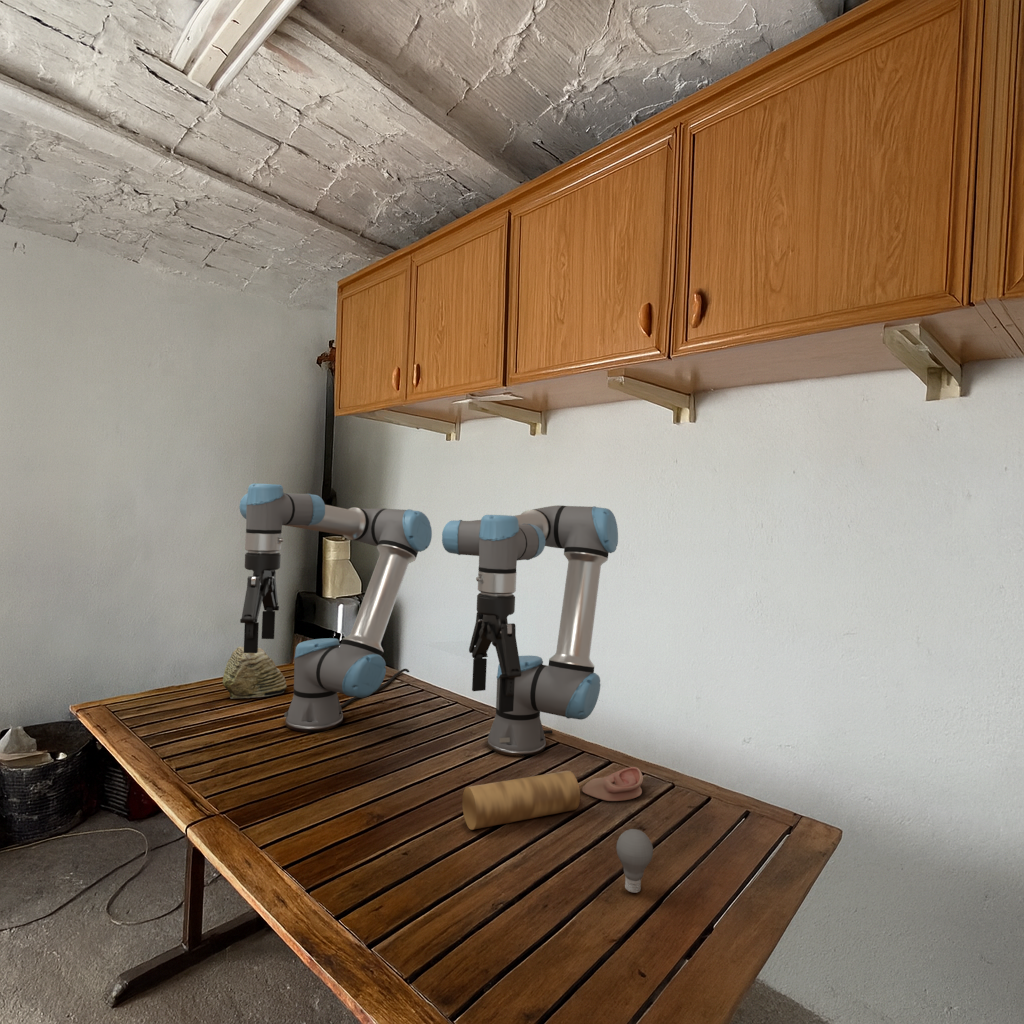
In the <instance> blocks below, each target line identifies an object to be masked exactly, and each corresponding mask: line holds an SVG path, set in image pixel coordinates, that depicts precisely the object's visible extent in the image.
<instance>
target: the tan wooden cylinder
mask: <svg viewBox="0 0 1024 1024" xmlns="http://www.w3.org/2000/svg"><path fill="white" fill-rule="evenodd" d="M461 799H462V800H461V801H462V813H463V818H464V822H465V824H466V826H467V828H468V829H469V830H470V831H475V830H479V829H485V828H489V827H494V826H495V827H496V826H500V825H505V824H510V823H516V822H521V821H526V820H530V819H536V818H542V817H547V816H551V815H552V816H553V815H557V814H562V813H566V812H567V813H568V812H573V811H576V810H577V809H578V808H579V806H580V802H581V789H580V786H579V782H578V780H577V777H576V776H575V774H574V773H573V772H572V771H570V770H564V771H563V770H562V771H557V772H551V773H543V774H538V775H532V776H525V777H520V778H514V779H508V780H502V781H495V782H489V783H483V784H477V785H471V786H465V788H464V789H463V792H462V798H461Z"/></svg>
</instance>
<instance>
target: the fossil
mask: <svg viewBox="0 0 1024 1024" xmlns="http://www.w3.org/2000/svg"><path fill="white" fill-rule="evenodd" d="M222 676H223V677H222V685H223V687H224V688H225V690H226V691H228V693H229V698H230V699H250V698H264V697H271V696H275V695H281V694H284V693H285V691H286V689H287V687H288V686H287V680H286V678H285V676H284V674H283V673H282V672H281V669H279V668H278V667H277V665H276V663H275V662H274V660H273V659H272V658H271V657H270V656H269V655H268V654H267V653H266V652H265V650H264V649H263V648H260V647H258V652H257V653H244V646H238V647H237V648H236V649H235V650H233V651H232V653H231V656H230V657H229V659H228V660H227V663H226V666H225V668H224V671H223V675H222Z"/></svg>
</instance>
